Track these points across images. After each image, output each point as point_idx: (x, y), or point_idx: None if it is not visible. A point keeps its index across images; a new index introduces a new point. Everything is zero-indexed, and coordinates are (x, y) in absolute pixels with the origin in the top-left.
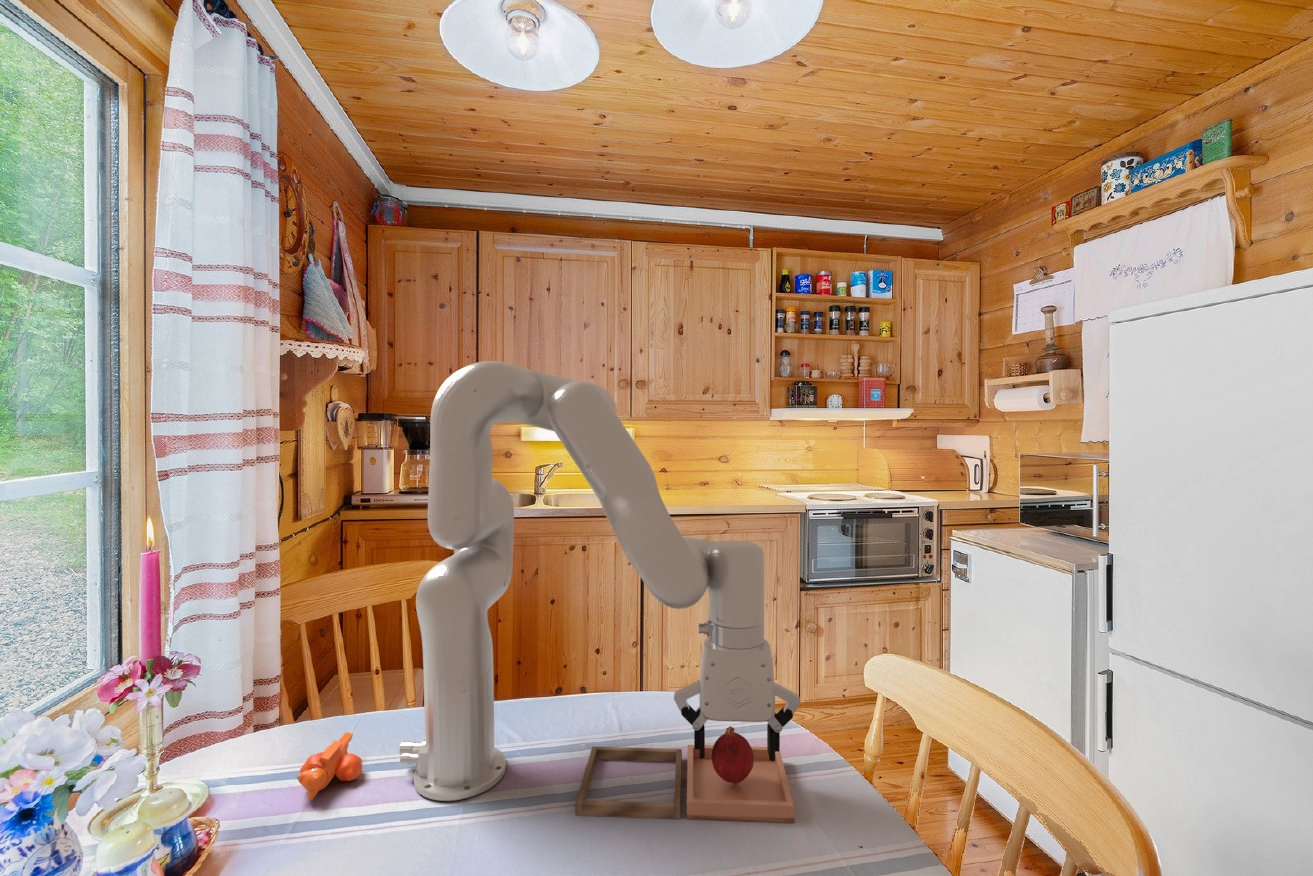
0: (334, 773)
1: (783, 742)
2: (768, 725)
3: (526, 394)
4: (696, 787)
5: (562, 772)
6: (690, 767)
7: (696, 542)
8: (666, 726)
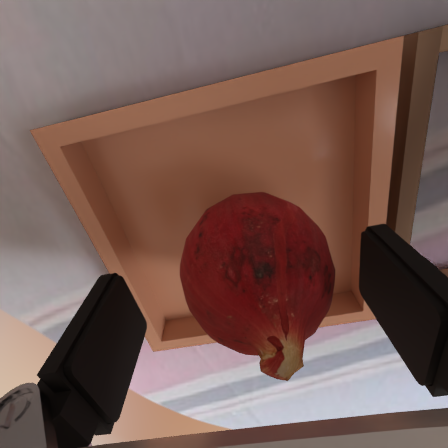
0: None
1: (166, 370)
2: (102, 414)
3: None
4: (343, 187)
5: None
6: None
7: None
8: (401, 369)
